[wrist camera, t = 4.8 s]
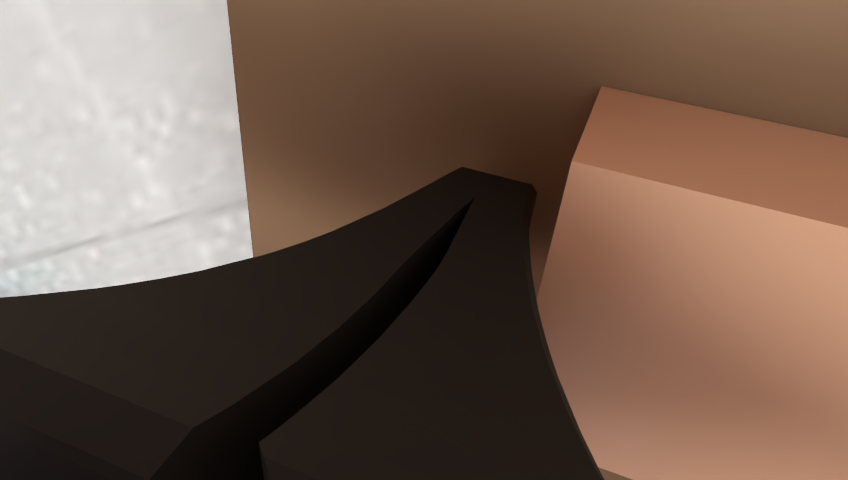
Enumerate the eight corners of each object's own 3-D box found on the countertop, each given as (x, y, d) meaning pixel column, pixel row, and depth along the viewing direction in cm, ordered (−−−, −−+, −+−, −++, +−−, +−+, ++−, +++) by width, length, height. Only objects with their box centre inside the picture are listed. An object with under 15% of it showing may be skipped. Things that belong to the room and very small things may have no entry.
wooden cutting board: (751, 410, 16) (761, 553, 13) (337, 276, 19) (264, 366, 16) (1461, -721, 6) (2289, -1318, 3) (337, -635, 9) (136, -879, 6)
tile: (818, 421, 11) (843, 555, 9) (536, 332, 12) (503, 432, 10) (1003, 170, 8) (1102, 290, 6) (601, 85, 9) (571, 161, 7)
